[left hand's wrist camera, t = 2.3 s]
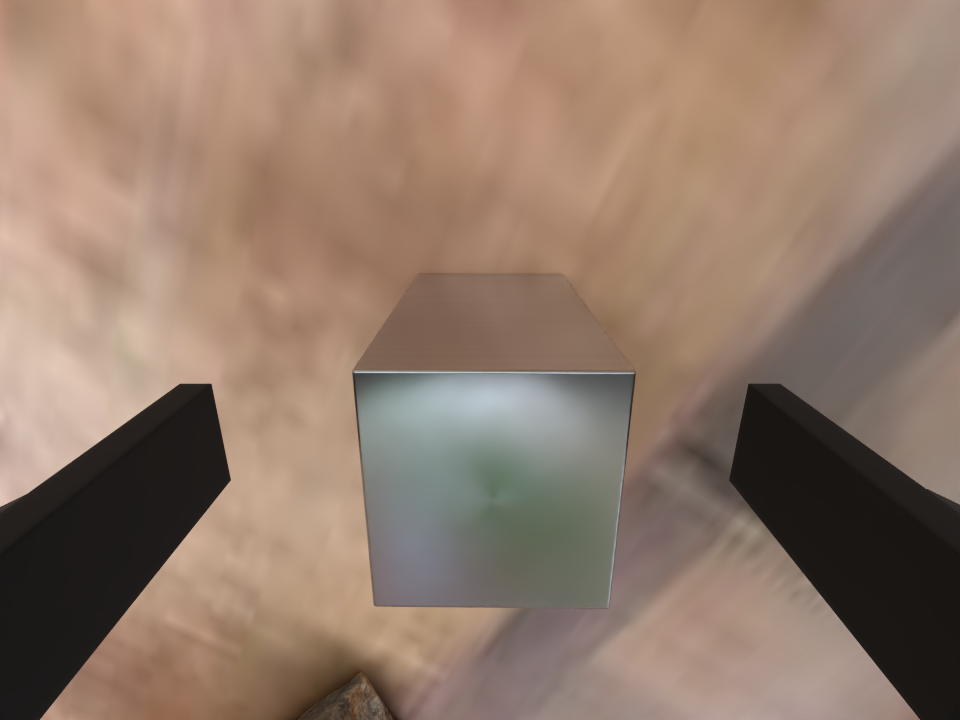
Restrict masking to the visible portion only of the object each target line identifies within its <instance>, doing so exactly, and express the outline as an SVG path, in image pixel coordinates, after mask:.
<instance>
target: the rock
mask: <svg viewBox="0 0 960 720" xmlns="http://www.w3.org/2000/svg"><path fill="white" fill-rule="evenodd" d="M296 720H394V719H393V718H392V716H391V714H390V712H389V711H388V710H387V708H386V706H385V704H384V703H383V701H382V700H381V699H380V698H379V696H378V695H377V693H376V691H375V690H374V688H373V687H372V685H371V684H370V682H369V681H368V679H367V678H366V676H365V675H364V674H363V673H362V672H360V673H357V674H356V675H355V676H354V677H353V678H352V679H351V680H350V681H349V682H348V683H346V684H345V685H344V686H343V687H341V688H339V689H338V690H336V691H334V692H332V693H330V694H329V695H328V696H327V697H325V698H324V699H323V700H320V701H318V702H317V703H316V704H314V705H313V706H312V707H311V708H309V709H308V710H307V711H306V712H305V713H304V714H302V715H301V716H300V717H299V718H297V719H296Z"/></svg>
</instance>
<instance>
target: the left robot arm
mask: <svg viewBox="0 0 960 720" xmlns="http://www.w3.org/2000/svg"><path fill="white" fill-rule="evenodd" d="M230 480H231V479H230V474H229V469H228V464H227V459H226V454H225V449H224V444H223V439H222V434H221V429H220V424H219V419H218V414H217V409H216V404H215V399H214V394H213V389H212V384H179V385H178V386H176V387H175V388H174V389H172V390H171V391H169V392H168V393H167V394H165V395H164V396H162V397H161V398H160V399H158V400H157V401H156V402H154V403H153V404H151V405H150V406H149V407H147V408H146V409H144V410H143V411H142V412H140V413H139V414H137V415H136V416H135V417H133V418H132V419H131V420H129V421H128V422H126V423H125V424H124V425H122V426H121V427H119V428H118V429H117V430H115V431H114V432H113V433H111V434H110V435H108V436H107V437H106V438H104V439H103V440H101V441H100V442H99V443H97V444H96V445H94V446H93V447H92V448H90V449H89V450H88V451H86V452H85V453H83V454H82V455H81V456H79V457H78V458H76V459H75V460H74V461H72V462H71V463H70V464H68V465H67V466H65V467H64V468H63V469H61V470H60V471H58V472H57V473H56V474H54V475H53V476H51V477H50V478H49V479H47V480H46V481H45V482H43V483H42V484H40V485H39V486H38V487H36V488H35V489H33V490H32V491H31V492H29V493H28V494H26V495H24V496H22V497H20V498H18V499H16V500H14V501H12V502H10V503H8V504H6V505H4V506H2V507H0V720H40V719H41V717H42V716H43V715H44V714H45V712H46V711H47V710H48V709H49V707H50V706H51V705H52V704H53V702H54V701H55V700H56V699H57V697H58V696H59V695H60V694H61V692H62V691H63V690H64V689H65V687H66V686H67V685H68V684H69V682H70V681H71V680H72V679H73V677H74V676H75V675H76V674H77V672H78V671H79V670H80V669H81V667H82V666H83V665H84V664H85V662H86V661H87V660H88V658H89V657H90V656H91V655H92V653H93V652H94V651H95V650H96V648H97V647H98V646H99V645H100V643H101V642H102V641H103V640H104V638H105V637H106V636H107V635H108V633H109V632H110V631H111V630H112V628H113V627H114V626H115V625H116V623H117V622H118V621H119V620H120V618H121V617H122V616H123V615H124V613H125V612H126V611H127V610H128V608H129V607H130V606H131V605H132V603H133V602H134V601H135V600H136V598H137V597H138V596H139V595H140V593H141V592H142V591H143V590H144V588H145V587H146V586H147V585H148V583H149V582H150V581H151V580H152V578H153V577H154V576H155V574H156V573H157V572H158V571H159V569H160V568H161V567H162V566H163V564H164V563H165V562H166V561H167V559H168V558H169V557H170V556H171V554H172V553H173V552H174V551H175V549H176V548H177V547H178V546H179V544H180V543H181V542H182V541H183V539H184V538H185V537H186V536H187V534H188V533H189V532H190V531H191V529H192V528H193V527H194V526H195V524H196V523H197V522H198V521H199V519H200V518H201V517H202V516H203V514H204V513H205V512H206V511H207V509H208V508H209V507H210V506H211V504H212V503H213V502H214V501H215V499H216V498H217V497H218V496H219V494H220V493H221V492H222V490H223V489H224V488H225V487H226V485H227V484H228V483H229V482H230ZM729 480H730V482H731V483H732V484H733V485H734V487H735V488H736V489H737V490H738V492H739V493H740V494H741V496H742V497H743V498H744V499H745V501H746V502H747V503H748V504H749V506H750V507H751V508H752V509H753V511H754V512H755V513H756V514H757V516H758V517H759V518H760V519H761V521H762V522H763V523H764V524H765V526H766V527H767V528H768V529H769V531H770V532H771V533H772V534H773V536H774V537H775V538H776V539H777V541H778V542H779V543H780V544H781V546H782V547H783V548H784V549H785V551H786V552H787V553H788V554H789V556H790V557H791V558H792V559H793V561H794V562H795V563H796V564H797V566H798V567H799V568H800V569H801V571H802V572H803V573H804V574H805V576H806V577H807V578H808V580H809V581H810V582H811V583H812V585H813V586H814V587H815V588H816V590H817V591H818V592H819V593H820V595H821V596H822V597H823V598H824V600H825V601H826V602H827V603H828V605H829V606H830V607H831V608H832V610H833V611H834V612H835V613H836V615H837V616H838V617H839V618H840V620H841V621H842V622H843V623H844V625H845V626H846V627H847V628H848V630H849V631H850V632H851V633H852V635H853V636H854V637H855V638H856V640H857V641H858V642H859V643H860V645H861V646H862V647H863V648H864V650H865V651H866V652H867V653H868V655H869V656H870V657H871V658H872V660H873V661H874V662H875V664H876V665H877V666H878V667H879V669H880V670H881V671H882V672H883V674H884V675H885V676H886V677H887V679H888V680H889V681H890V682H891V684H892V685H893V686H894V687H895V689H896V690H897V691H898V692H899V694H900V695H901V696H902V697H903V699H904V700H905V701H906V702H907V704H908V705H909V706H910V707H911V709H912V710H913V711H914V712H915V714H916V715H917V716H918V717H919V719H920V720H960V505H959V504H957V503H955V502H953V501H951V500H949V499H947V498H945V497H943V496H940V495H938V494H936V493H934V492H932V491H930V490H928V489H925V488H924V487H922V486H921V485H920V484H918V483H917V482H915V481H914V480H913V479H911V478H910V477H909V476H907V475H906V474H904V473H903V472H902V471H900V470H899V469H897V468H896V467H895V466H893V465H892V464H890V463H889V462H888V461H886V460H885V459H884V458H882V457H881V456H879V455H878V454H877V453H875V452H874V451H872V450H871V449H870V448H868V447H867V446H866V445H864V444H863V443H861V442H860V441H859V440H857V439H856V438H854V437H853V436H852V435H850V434H849V433H847V432H846V431H845V430H843V429H842V428H841V427H839V426H838V425H836V424H835V423H834V422H832V421H831V420H829V419H828V418H827V417H825V416H824V415H823V414H821V413H820V412H818V411H817V410H816V409H814V408H813V407H811V406H810V405H809V404H807V403H806V402H804V401H803V400H802V399H800V398H799V397H798V396H796V395H795V394H793V393H792V392H791V391H789V390H788V389H786V388H785V387H784V386H782V385H781V384H748V389H747V394H746V399H745V404H744V409H743V414H742V419H741V424H740V429H739V434H738V439H737V444H736V449H735V454H734V459H733V464H732V469H731V474H730V479H729Z"/></svg>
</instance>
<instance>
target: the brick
mask: <svg viewBox="0 0 960 720" xmlns="http://www.w3.org/2000/svg"><path fill="white" fill-rule="evenodd" d="M352 375H353V385H354V396H355V407H356V418H357V429H358V440H359V451H360V461H361V472H362V483H363V494H364V505H365V516H366V527H367V537H368V548H369V559H370V570H371V581H372V592H373V603H374V606H393V607H491V608H588V609H608V608H609V606H610V598H611V589H612V580H613V571H614V562H615V553H616V544H617V535H618V527H619V518H620V509H621V500H622V491H623V482H624V473H625V464H626V456H627V447H628V438H629V429H630V420H631V411H632V402H633V393H634V384H635V376H636V372H635V370H634V369H633V368H632V366H631V365H630V364H629V362H628V361H627V360H626V358H625V357H624V356H623V354H622V353H621V352H620V350H619V349H618V348H617V346H616V345H615V344H614V342H613V341H612V340H611V338H610V337H609V336H608V334H607V333H606V332H605V330H604V329H603V328H602V326H601V325H600V324H599V322H598V321H597V320H596V318H595V317H594V316H593V314H592V313H591V312H590V310H589V309H588V308H587V306H586V305H585V304H584V302H583V301H582V300H581V298H580V297H579V296H578V294H577V293H576V292H575V290H574V289H573V288H572V286H571V285H570V284H569V282H568V281H567V280H566V278H565V277H564V275H562V274H418V275H417V277H416V278H415V280H414V281H413V282H412V284H411V285H410V287H409V288H408V290H407V291H406V293H405V294H404V296H403V297H402V299H401V300H400V302H399V303H398V304H397V306H396V307H395V309H394V310H393V312H392V313H391V315H390V316H389V318H388V319H387V321H386V322H385V324H384V325H383V326H382V328H381V329H380V331H379V332H378V334H377V335H376V337H375V338H374V340H373V341H372V343H371V344H370V345H369V347H368V348H367V350H366V351H365V353H364V354H363V356H362V357H361V359H360V360H359V362H358V363H357V365H356V366H355V367H354V369H353V371H352Z"/></svg>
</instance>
